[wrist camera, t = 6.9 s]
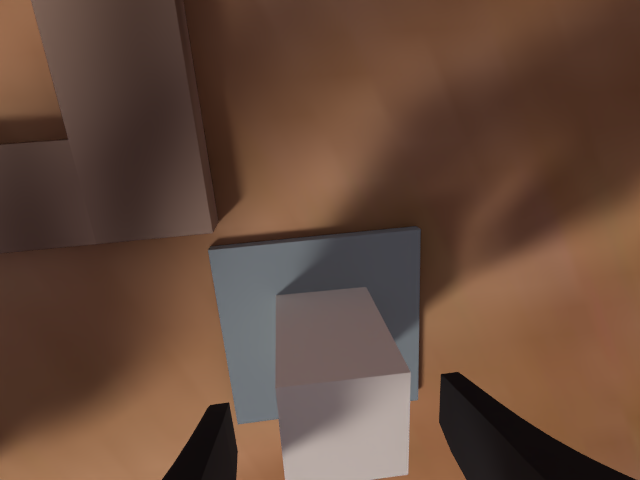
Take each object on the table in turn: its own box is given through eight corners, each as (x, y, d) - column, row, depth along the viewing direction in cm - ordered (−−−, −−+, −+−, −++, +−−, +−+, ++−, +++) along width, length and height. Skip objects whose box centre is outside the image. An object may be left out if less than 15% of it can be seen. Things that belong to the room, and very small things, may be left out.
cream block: (283, 372, 18) (286, 491, 12) (275, 295, 17) (275, 388, 11) (367, 363, 18) (408, 474, 13) (366, 286, 17) (410, 372, 11)
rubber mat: (238, 416, 19) (238, 424, 19) (210, 246, 16) (207, 250, 16) (414, 393, 20) (418, 400, 19) (416, 226, 17) (420, 229, 16)
